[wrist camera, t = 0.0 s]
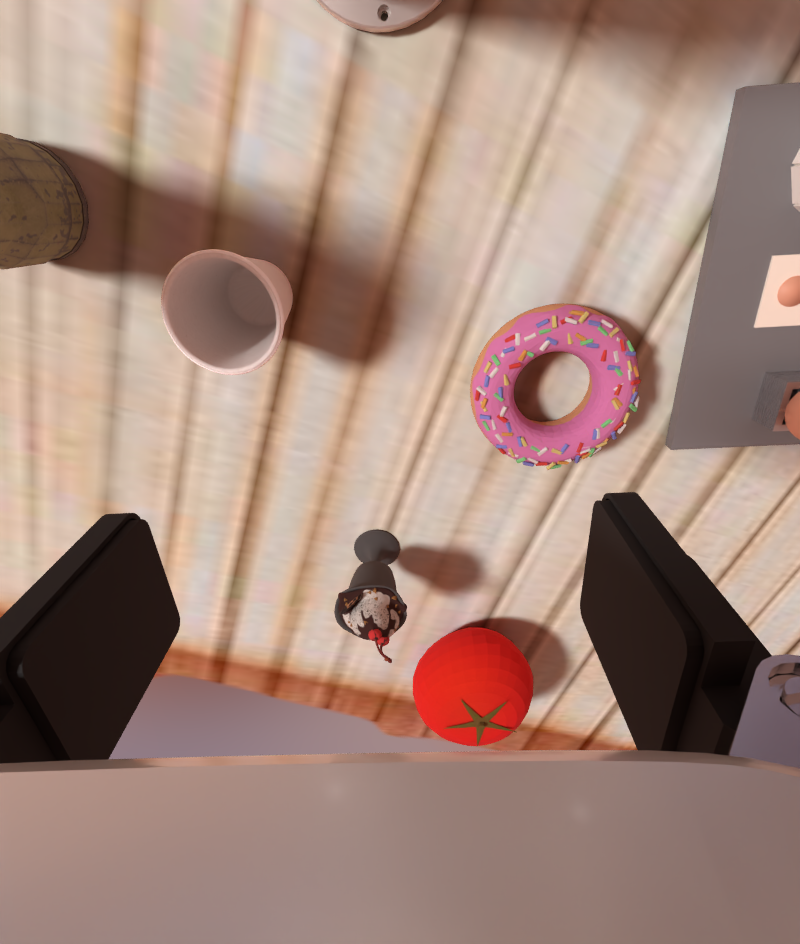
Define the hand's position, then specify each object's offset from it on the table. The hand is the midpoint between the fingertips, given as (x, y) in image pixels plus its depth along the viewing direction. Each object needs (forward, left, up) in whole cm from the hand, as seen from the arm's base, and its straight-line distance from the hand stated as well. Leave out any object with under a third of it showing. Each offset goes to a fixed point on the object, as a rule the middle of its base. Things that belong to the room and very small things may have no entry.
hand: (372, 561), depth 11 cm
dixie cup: (-1, -12, -37) cm, 39 cm away
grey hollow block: (+10, +34, -36) cm, 50 cm away
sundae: (+26, -4, -37) cm, 45 cm away
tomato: (+42, +6, -37) cm, 56 cm away
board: (+1, +34, -37) cm, 50 cm away
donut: (+8, +13, -37) cm, 40 cm away
